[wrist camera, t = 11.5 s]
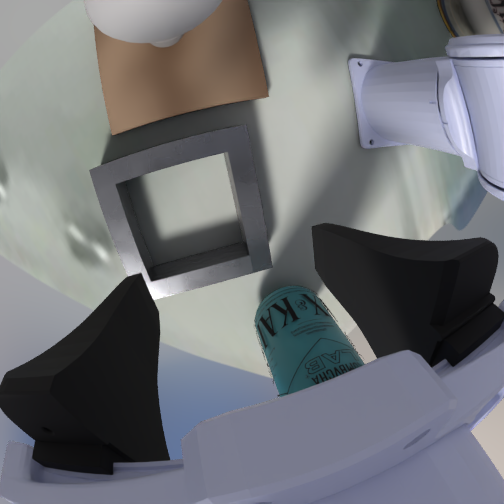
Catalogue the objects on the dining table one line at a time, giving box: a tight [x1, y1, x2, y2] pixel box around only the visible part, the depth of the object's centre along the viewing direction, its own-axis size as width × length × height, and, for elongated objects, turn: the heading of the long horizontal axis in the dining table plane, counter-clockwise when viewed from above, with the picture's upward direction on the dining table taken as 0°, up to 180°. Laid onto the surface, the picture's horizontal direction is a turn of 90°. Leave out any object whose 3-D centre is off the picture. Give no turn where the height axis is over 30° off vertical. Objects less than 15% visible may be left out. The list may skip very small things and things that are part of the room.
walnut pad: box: [94, 0, 269, 135], centre depth 14 cm, size 11×11×1 cm
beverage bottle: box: [254, 286, 365, 397], centre depth 17 cm, size 6×7×20 cm
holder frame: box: [89, 125, 273, 300], centre depth 19 cm, size 10×10×2 cm
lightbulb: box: [84, 0, 222, 47], centre depth 8 cm, size 6×6×11 cm
